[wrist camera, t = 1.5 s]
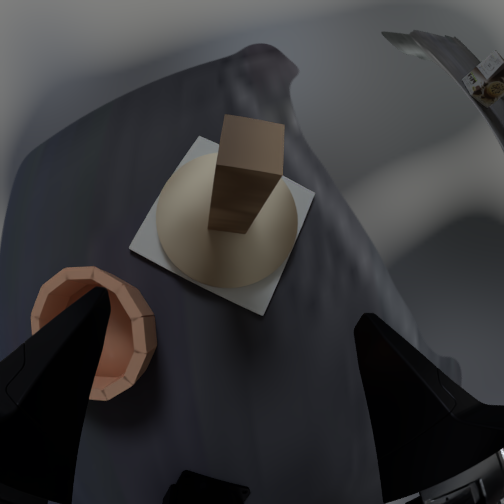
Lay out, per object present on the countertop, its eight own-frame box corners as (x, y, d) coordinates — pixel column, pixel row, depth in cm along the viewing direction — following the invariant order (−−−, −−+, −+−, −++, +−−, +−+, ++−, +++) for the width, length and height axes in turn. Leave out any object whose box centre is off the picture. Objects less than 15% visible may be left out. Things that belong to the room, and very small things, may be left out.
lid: (296, 168, 25) (349, 93, 14) (291, 294, 22) (366, 279, 12) (171, 149, 23) (164, 58, 12) (146, 278, 20) (99, 248, 10)
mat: (313, 194, 25) (315, 193, 24) (261, 315, 22) (263, 316, 21) (199, 138, 24) (199, 136, 24) (129, 249, 21) (128, 248, 20)
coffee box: (470, 96, 42) (507, 65, 26) (461, 79, 43) (494, 48, 28) (487, 109, 43) (521, 82, 28) (478, 92, 45) (510, 65, 29)
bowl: (174, 308, 20) (167, 308, 16) (132, 402, 18) (118, 422, 14) (84, 256, 20) (60, 244, 15) (46, 347, 17) (19, 352, 13)
